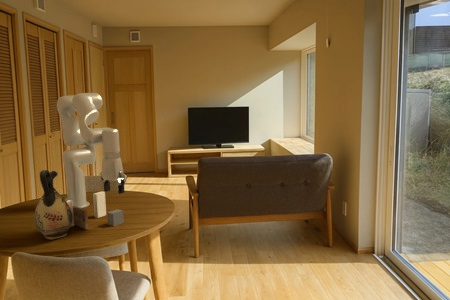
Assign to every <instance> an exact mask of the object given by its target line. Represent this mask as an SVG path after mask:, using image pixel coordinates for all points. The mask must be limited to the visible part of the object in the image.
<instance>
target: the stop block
mask: <svg viewBox="0 0 450 300" xmlns="http://www.w3.org/2000/svg"><path fill="white" fill-rule="evenodd" d="M106 216H107V225H108V226H112V227H115V226H118V225H121V224H124V223H125V222H124V210H122V209H118V208H117V209H114V210H110V211H106Z"/></svg>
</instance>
